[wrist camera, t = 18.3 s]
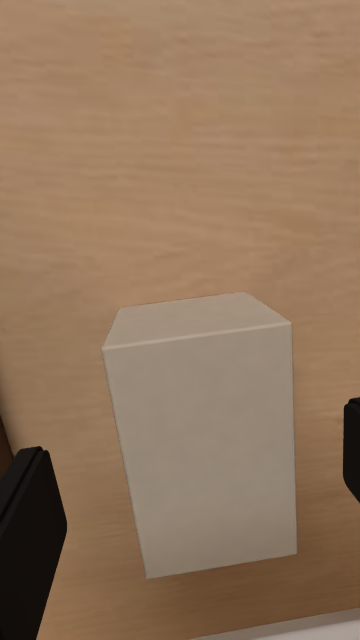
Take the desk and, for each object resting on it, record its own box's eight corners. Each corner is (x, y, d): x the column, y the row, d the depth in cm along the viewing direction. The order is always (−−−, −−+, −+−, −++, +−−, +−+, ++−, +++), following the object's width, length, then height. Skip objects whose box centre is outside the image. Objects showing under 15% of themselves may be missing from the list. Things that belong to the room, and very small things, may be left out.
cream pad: (118, 307, 13) (100, 347, 8) (245, 290, 13) (293, 321, 8) (148, 478, 15) (145, 581, 10) (256, 461, 15) (298, 555, 11)
